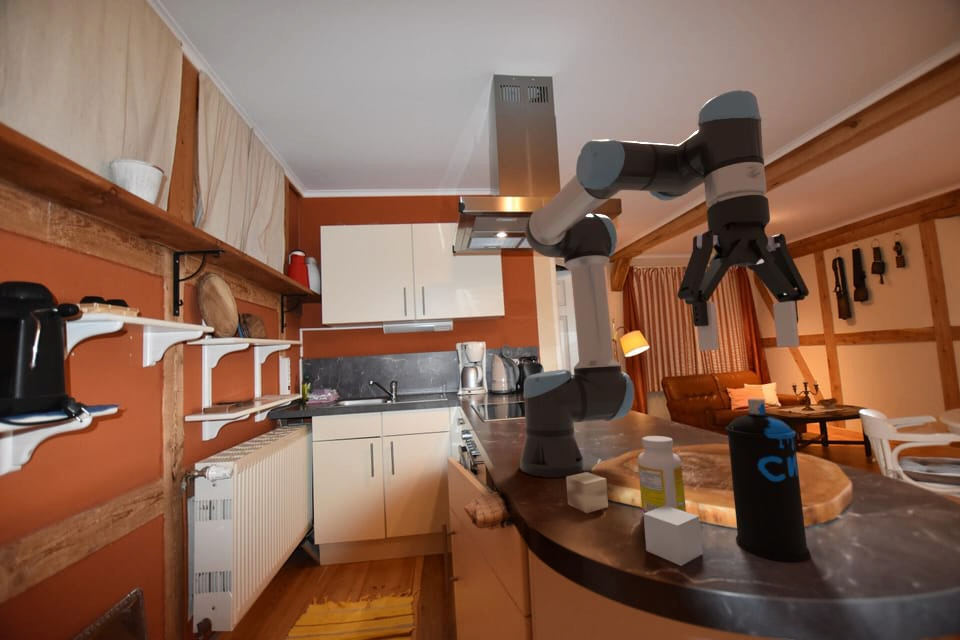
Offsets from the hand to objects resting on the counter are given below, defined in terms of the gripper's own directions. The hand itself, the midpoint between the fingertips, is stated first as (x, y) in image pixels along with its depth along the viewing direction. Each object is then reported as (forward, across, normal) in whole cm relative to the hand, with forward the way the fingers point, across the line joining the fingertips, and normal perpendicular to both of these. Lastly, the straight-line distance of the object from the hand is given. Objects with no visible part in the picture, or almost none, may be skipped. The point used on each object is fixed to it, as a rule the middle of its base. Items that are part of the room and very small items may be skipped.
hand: (749, 348), depth 56 cm
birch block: (+28, -15, +22) cm, 38 cm away
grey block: (+27, -12, +3) cm, 30 cm away
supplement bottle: (+28, -6, +13) cm, 31 cm away
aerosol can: (+27, +1, 0) cm, 27 cm away
